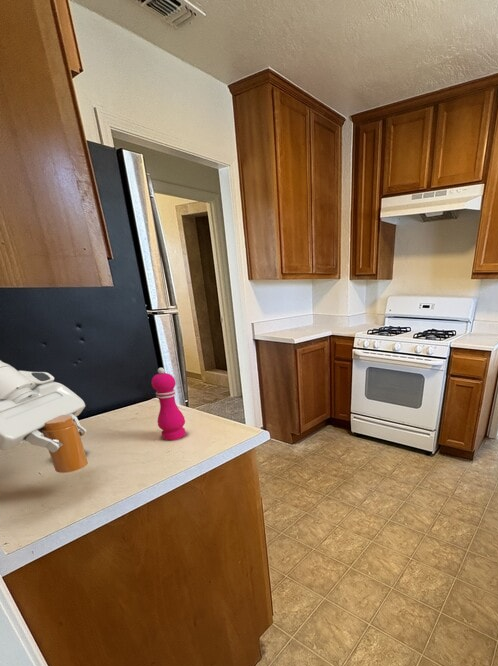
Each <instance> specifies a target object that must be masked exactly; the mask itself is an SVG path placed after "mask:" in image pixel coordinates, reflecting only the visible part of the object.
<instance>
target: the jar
mask: <svg viewBox="0 0 498 666" xmlns="http://www.w3.org/2000/svg"><path fill="white" fill-rule="evenodd" d="M44 424H45V426H44V427H43V428H42V432H43V433H42V436H43V437H46V438H49V439H51V440H53V439H55V438H56V439H57V440H58V441H59V442H61V443H62V444H63V446H62V447H61V448H60V449H59V450H58V451H56V452H51V451H50V450H48V453H49V456H50V458H51V461H52V462H51V463H52V465H53V468H54V470H55V472H57V473H60V474H65V473H72V472H73V473H74V472H75V471H79V470H81V469H84V468H86V467H87V465H88V464H89V462H88V458H87V455H86V452H85V447H84V445H83V442H82V437H80V434H79V431H78V427H77V424H76V422H74V421H73V418H72V416H70V415H61V416H59V417H56V418H54V419H52V420H50V421H48V422H46V423H44Z"/></svg>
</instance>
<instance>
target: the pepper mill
mask: <svg viewBox="0 0 498 666" xmlns="http://www.w3.org/2000/svg"><path fill="white" fill-rule="evenodd" d="M176 384H177V383H176V379H175V377H174V376H173V375H172V374H170V373H168V372H166V370H165V368H164V367H159V368H158V369H157V374H154V376H153V377H152V379H151V387H152V389H154V390H155V397H156V398H157V399H158V402H159V413H158V416H157V426H158V428H159V429H161V437H162V439H163V440H165V441H176V440H180V439H182V438H184V437H185V436H186V428H185V427H184V426H185V424H186V419H185V416H184V414H183V413H182V411H181V410H180V409H179V407H178V406H177V402H176V397H175V396H177V395H176V394H177V393H176V390H175V387H176Z"/></svg>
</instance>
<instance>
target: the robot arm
mask: <svg viewBox="0 0 498 666" xmlns="http://www.w3.org/2000/svg"><path fill="white" fill-rule="evenodd" d="M85 408H86V403H85V401H84V400H83V399H82V397H80V396H79V395H77V394H76V393H75V392H74V391H73V390H71V389H70V388H69V387H67V386H66V385H64V384H62V383H60V382H57V381H55V377H54V376H53V375H52V374H51V373H49V372H46V371H29V370H28V371H27V370H18V369H16V368H15V367H14V366H12V365H11V364H9V363H6V362H3V361H2V360H1V359H0V451H9V450H11V449H13V448H15V447H17V446H19V445H21V444H24V443H25V442H28V443H30V444H31V445H34V446H38V447H42V448H45V449H46V450H48V451H49V450H50V451H51V452H56V451H58V450H59V449H60V448H61V447H62V446H63V444H62V443H61V442H59V441H58V440H57V439H56V438H55V439H53V440H51V439H49V438H46V437H44V435H43V432H42V428H43V427H44V426H45V424H44V423H46V422H48V421H50V420H52V419H54V418H56V417H59V416H61V415H70V416H72V418H73V421H74V422H76V424H77V427H78V431H79V434H80V438H82V437H83V436H85V435H86V434H87V432H88V431H87V429H86V428H85V427H83V426H82V425H81V423H80V421H79V419H78V416H79V415H80V414H81V413H82V412H83V411H84V409H85Z"/></svg>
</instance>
